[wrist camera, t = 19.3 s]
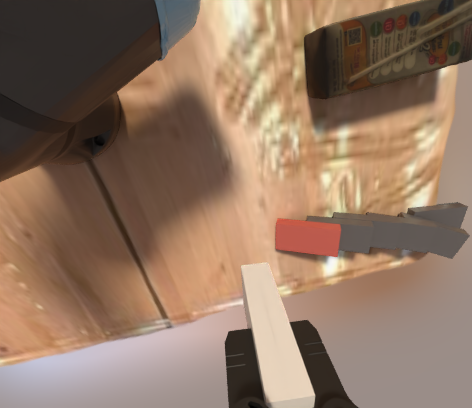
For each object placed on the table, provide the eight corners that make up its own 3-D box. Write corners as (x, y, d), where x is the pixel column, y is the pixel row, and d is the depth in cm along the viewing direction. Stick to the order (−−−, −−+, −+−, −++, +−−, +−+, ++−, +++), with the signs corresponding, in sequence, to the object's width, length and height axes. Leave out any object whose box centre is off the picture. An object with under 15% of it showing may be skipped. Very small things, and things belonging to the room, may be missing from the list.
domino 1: (305, 246, 43) (368, 253, 40) (306, 221, 41) (373, 226, 38) (306, 240, 45) (366, 246, 42) (307, 215, 43) (371, 220, 40)
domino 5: (390, 240, 45) (452, 258, 42) (403, 217, 42) (469, 235, 40) (388, 234, 46) (447, 252, 44) (400, 212, 44) (463, 229, 42)
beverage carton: (435, 67, 36) (481, 61, 30) (306, 100, 36) (325, 101, 30) (441, -1, 32) (495, -23, 26) (299, 36, 32) (319, 23, 26)
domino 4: (408, 236, 45) (459, 230, 46) (415, 211, 43) (467, 206, 44) (400, 230, 47) (449, 225, 48) (406, 207, 45) (457, 202, 46)
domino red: (275, 249, 43) (337, 257, 40) (276, 223, 41) (341, 230, 38) (277, 242, 45) (336, 250, 42) (277, 218, 43) (340, 224, 40)
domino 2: (331, 242, 44) (395, 249, 41) (334, 217, 42) (402, 223, 39) (330, 236, 45) (392, 243, 43) (333, 212, 43) (398, 217, 41)
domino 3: (361, 241, 44) (426, 253, 42) (368, 217, 42) (437, 227, 39) (360, 235, 46) (422, 246, 43) (367, 212, 44) (432, 221, 41)
